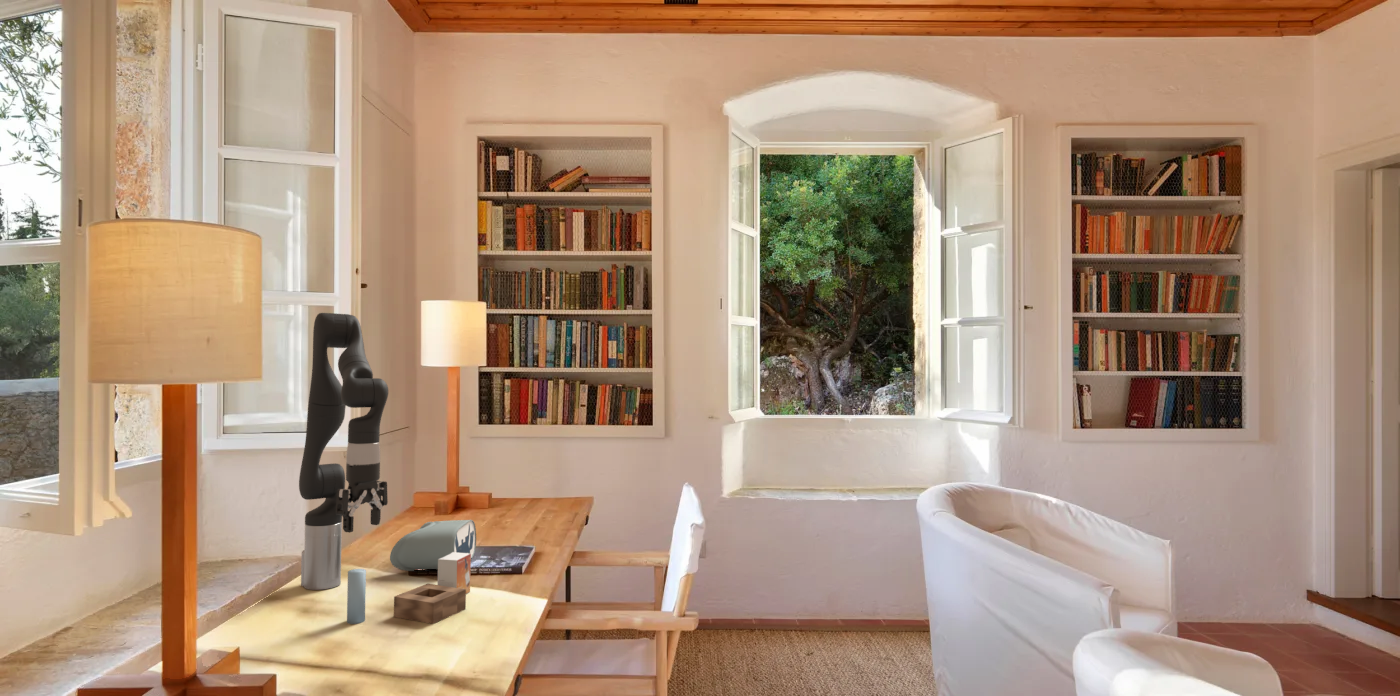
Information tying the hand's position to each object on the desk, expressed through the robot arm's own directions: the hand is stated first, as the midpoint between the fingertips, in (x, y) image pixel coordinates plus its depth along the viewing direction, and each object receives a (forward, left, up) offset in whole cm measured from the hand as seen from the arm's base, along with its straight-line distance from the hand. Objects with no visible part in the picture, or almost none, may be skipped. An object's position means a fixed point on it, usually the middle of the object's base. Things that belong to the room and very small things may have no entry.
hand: (361, 528), depth 193 cm
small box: (+8, +25, -22) cm, 35 cm away
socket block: (+12, +11, -22) cm, 27 cm away
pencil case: (-16, +46, -22) cm, 54 cm away
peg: (0, -1, -22) cm, 22 cm away
